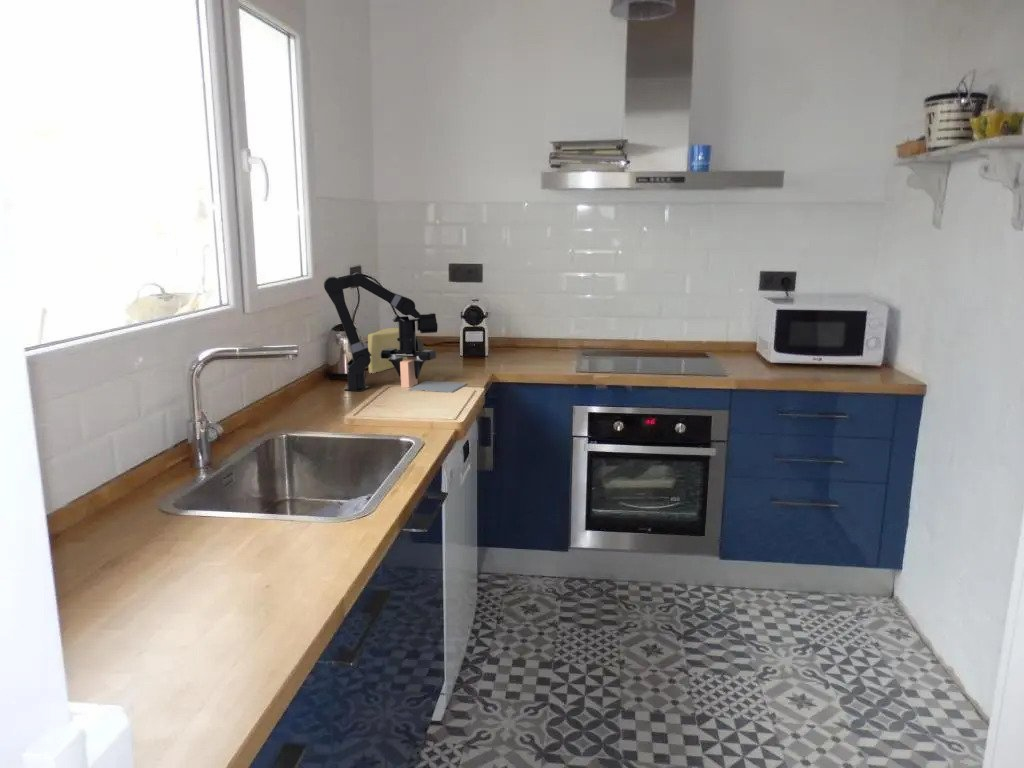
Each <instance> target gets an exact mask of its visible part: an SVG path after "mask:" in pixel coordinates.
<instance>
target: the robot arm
mask: <svg viewBox="0 0 1024 768" xmlns="http://www.w3.org/2000/svg"><path fill="white" fill-rule="evenodd" d="M355 286H359V287H360V288H362V289H364V290H366V291H367V292H369V293H371V294H373V295H375V296H377V297H379V298H380V299H381V300H384V301H386V302H387V303H388V304H390V305H391V306H392V307H393V308H395V309H396V310H397V311H398V312H399V313H401V315H403V316H399V314H395V316H394V317H393V319H392V322H393V323H398V324H397V325H398V328H399V338H397V341H399V347H400V349H399V350H397V349H395V348H387V349H384V350H382V351H381V358H385V359H388V358H389V361H391V363H392V364H393V366H394V368H395V370H396V372H397V374H398V376H399V379H401V372H400V362H401V361H402V360H403V357H408V358H416V359H417V360H415V361H414V369H415V377H416V379H419V376H420V373H421V370H422V367H423V365H424V363H425V362H426V361H431V360H434V359H436V358H437V353H436V351H435V350H434V349H424V342H422V341H419V339H418V335H416V330H417V331H418V332H419V333H420V334H434V333H435V334H436V333H438V323H437V317H436V315H437V314H436V313H435V312H431V313H422V314H421V313H420V312H419V310H417V309H416V303H415V302H414V300H412V299H411V298H410V297H407V296H404V295H402V294H398V293H396V292H394V291H390V290H389V289H388V288H386V287H383V286H382V285H380V284H378V283H376V282H375V281H373V280H371V279H370V278H367V277H366V276H365V275H363V274H362V273H360V272H354V273H352V274H348V275H344V276H339V277H336V276H335V275H334V276H333V275H331V276H327V278H325V279H324V281H323V287H324V290H325V292H326V294H327V295H328V297H329V299H330V300H331V302H332V303H333V305H334V307H335V310H336V312H337V315H338V317H339V320H340V323H341V324H342V327H343V330H344V332H345V336H346V338H347V340H348V343H349V347H350V355H351V359H350V360H349V361H348V362H347V363H346V368H347V370H348V371H347V374H346V375H347V387H345V388H343V389H344V391H349V392H350V391H351V392H352V391H353V392H362V391H365V390H367V389H370V388H371V387H370V385H366V383H367V382H366V371H365V370H366V368H367V367H368V365H369V364H370V362H371V359H370V356H372V355H371V354H370V352H369V350H368V343H367V342H364V343H363V342H362V341H361V340H360V337H359V334H358V332H357V328H356V327H355V325H354V321H353V319H352V316H351V314H350V310H349V309H348V305H347V303H346V299H345V293H344V290H346V289H349V288H352V287H355ZM409 316H411V317H413V318H410V317H409ZM400 356H401V357H400Z"/></svg>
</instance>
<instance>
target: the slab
mask: <svg viewBox="0 0 1024 768" xmlns="http://www.w3.org/2000/svg"><path fill="white" fill-rule="evenodd" d="M415 360H417V358H408V359H407V360H404V361H401V362H400V372H401V378H400V388H401V387H410V388H412V387H414V385H415V386H416V385H418V384H419V383H418V379H419V378H418V379H416V377H415V369H414V361H415ZM411 386H412V387H411Z"/></svg>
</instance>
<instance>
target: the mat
mask: <svg viewBox="0 0 1024 768" xmlns="http://www.w3.org/2000/svg"><path fill="white" fill-rule="evenodd" d="M467 385H468V383H467V382H453V381H452V382H451V381H450V382H449V381H430V380H425V381H423V382H421V383H418V384H417V385H415V386H412V387H410V388H408V391H413V390H427V391H426V392H430V391H439V392H438V393H448V392H453V393H454V392H456V391H458V390H460V389H462V388H463V387H466V386H467ZM455 390H456V391H455Z"/></svg>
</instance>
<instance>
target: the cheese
mask: <svg viewBox="0 0 1024 768" xmlns="http://www.w3.org/2000/svg"><path fill="white" fill-rule="evenodd" d="M397 338H399V327H398V328H397V327H387V328H384V329H380V330H378V331H376V332H371V333H369V334H368V335H367V345H368V350H369V352H370V354H371V355H372V356H370V359H371V362H370V364H369V365H368V366H367V367H368V373H369V374H371V373H372V374H373V375H374V374H377V373H379V372H380V373H381V372H384V371H387V370H390V369H394V368H395V367H394V366H393V364H392V363H391V361H389V358H388V359H385V358H381V351H382V350H384V349H387V348H395V349H397V350H399V349H400V347H399V341H397ZM400 357H401V356H400ZM407 359H409V357H403V360H402V361H404V360H407ZM376 372H377V373H376Z"/></svg>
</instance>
